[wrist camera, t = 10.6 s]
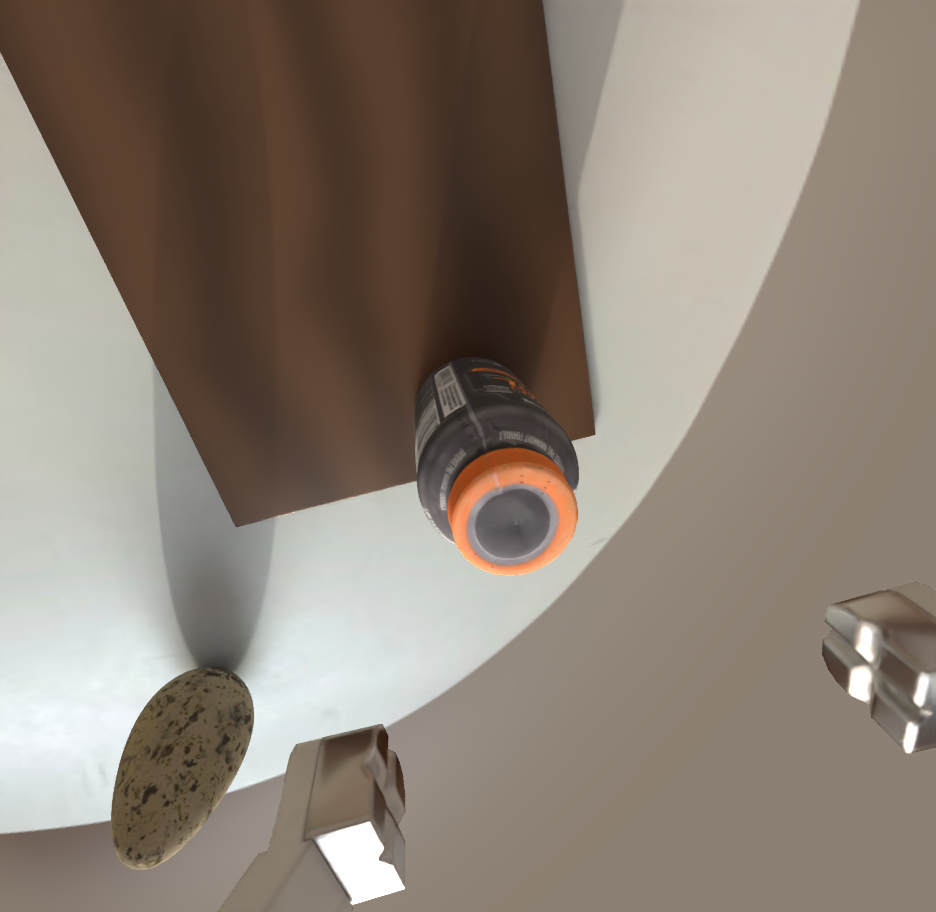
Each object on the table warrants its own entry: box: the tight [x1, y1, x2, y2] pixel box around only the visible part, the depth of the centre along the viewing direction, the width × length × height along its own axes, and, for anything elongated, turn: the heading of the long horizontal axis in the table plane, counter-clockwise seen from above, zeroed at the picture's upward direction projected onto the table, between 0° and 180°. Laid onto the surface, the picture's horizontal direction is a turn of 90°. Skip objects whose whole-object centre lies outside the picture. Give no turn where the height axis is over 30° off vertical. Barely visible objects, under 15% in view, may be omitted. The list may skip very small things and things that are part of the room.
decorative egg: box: [111, 667, 254, 870], centre depth 26 cm, size 6×6×10 cm
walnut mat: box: [0, 0, 595, 527], centre depth 22 cm, size 20×23×1 cm
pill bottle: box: [414, 357, 579, 575], centre depth 20 cm, size 6×6×11 cm
